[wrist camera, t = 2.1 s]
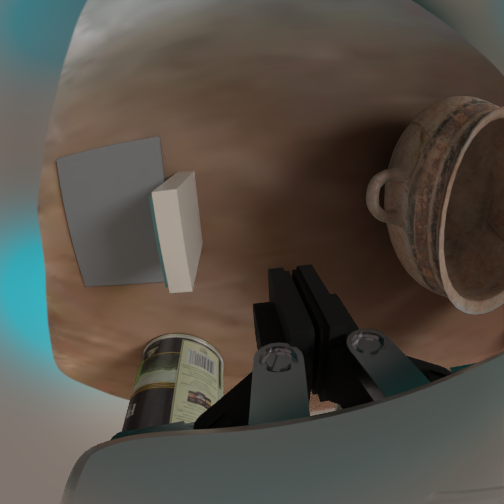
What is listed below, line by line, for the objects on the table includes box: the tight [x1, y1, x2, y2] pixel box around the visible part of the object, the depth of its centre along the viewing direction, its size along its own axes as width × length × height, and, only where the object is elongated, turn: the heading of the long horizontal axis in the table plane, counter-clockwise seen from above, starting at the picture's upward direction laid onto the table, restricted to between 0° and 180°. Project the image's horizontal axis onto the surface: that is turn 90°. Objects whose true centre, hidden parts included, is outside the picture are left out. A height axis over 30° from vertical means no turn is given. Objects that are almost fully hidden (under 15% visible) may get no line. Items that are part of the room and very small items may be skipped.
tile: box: [149, 171, 203, 293], centre depth 23 cm, size 2×7×9 cm, turn 4°
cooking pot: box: [366, 96, 504, 314], centre depth 22 cm, size 25×19×12 cm
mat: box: [56, 136, 165, 287], centre depth 26 cm, size 11×14×1 cm
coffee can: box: [122, 334, 224, 431], centre depth 27 cm, size 10×10×14 cm
